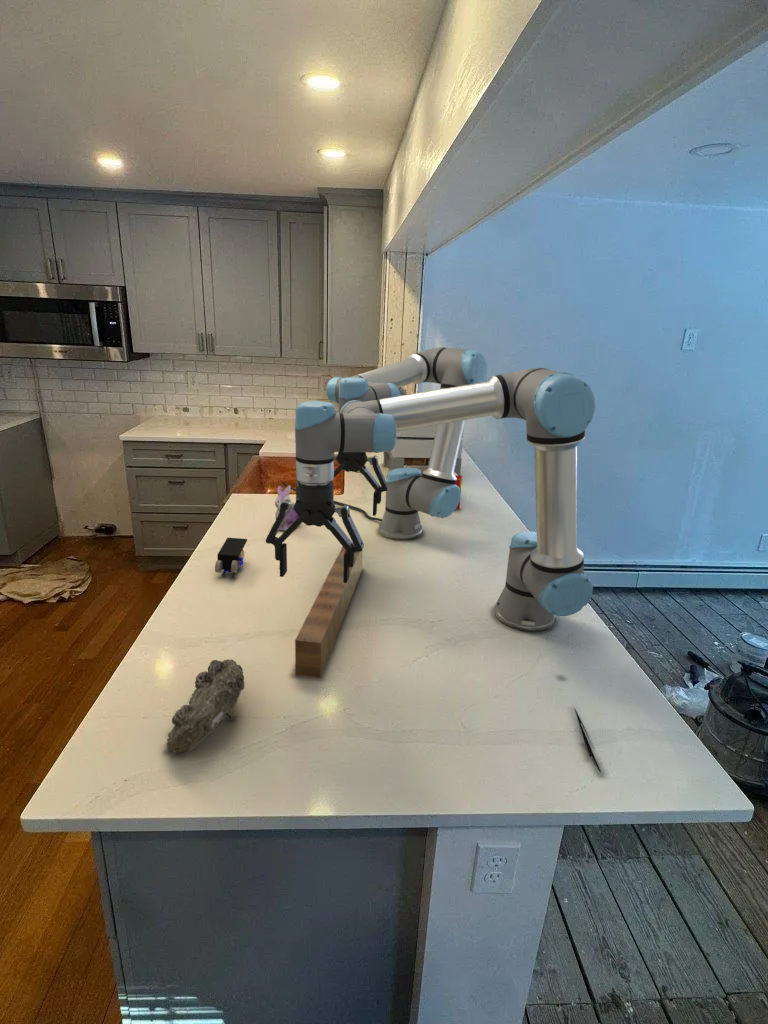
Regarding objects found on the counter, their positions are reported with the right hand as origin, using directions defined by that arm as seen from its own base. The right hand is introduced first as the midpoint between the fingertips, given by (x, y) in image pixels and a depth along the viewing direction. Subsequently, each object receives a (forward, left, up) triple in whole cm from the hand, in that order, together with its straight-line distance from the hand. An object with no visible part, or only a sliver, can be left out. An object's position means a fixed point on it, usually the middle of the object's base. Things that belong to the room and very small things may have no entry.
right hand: (314, 577), depth 120 cm
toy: (-101, -75, -21) cm, 128 cm away
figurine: (-30, -76, -21) cm, 85 cm away
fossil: (+25, +6, -21) cm, 33 cm away
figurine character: (-1, -53, -21) cm, 57 cm away
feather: (-34, +45, -21) cm, 60 cm away
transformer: (-116, -111, -21) cm, 162 cm away
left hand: (-28, -31, 0) cm, 41 cm away
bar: (-14, -15, -21) cm, 29 cm away
